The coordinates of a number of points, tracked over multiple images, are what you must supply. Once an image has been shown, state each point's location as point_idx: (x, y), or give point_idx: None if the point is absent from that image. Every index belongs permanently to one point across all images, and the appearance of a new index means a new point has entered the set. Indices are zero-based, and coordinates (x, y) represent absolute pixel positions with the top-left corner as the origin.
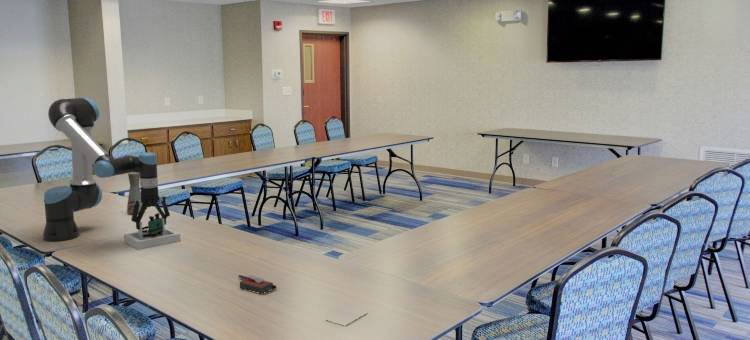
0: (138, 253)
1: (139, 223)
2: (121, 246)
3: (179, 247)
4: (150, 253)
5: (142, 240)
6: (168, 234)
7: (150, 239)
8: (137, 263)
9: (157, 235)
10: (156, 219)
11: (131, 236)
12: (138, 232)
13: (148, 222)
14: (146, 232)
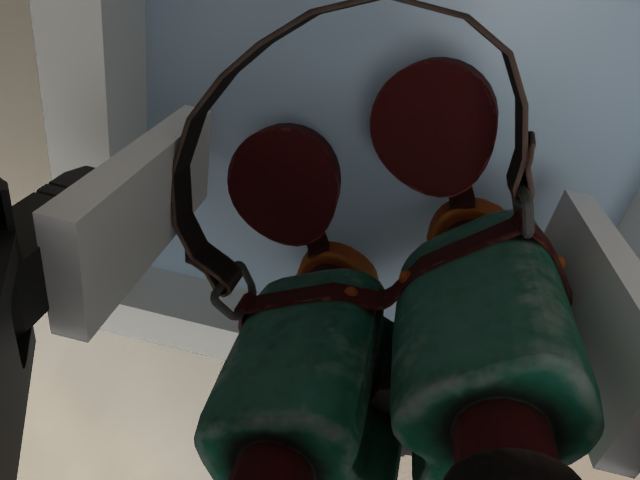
0: (85, 349)
1: (55, 296)
2: (5, 25)
3: (403, 476)
4: (159, 413)
5: (134, 322)
6: (636, 217)
7: (220, 358)
8: (18, 473)
9: (569, 52)
10: (422, 459)
11: (82, 54)
12: (164, 121)
13: (198, 433)
14: (231, 269)
